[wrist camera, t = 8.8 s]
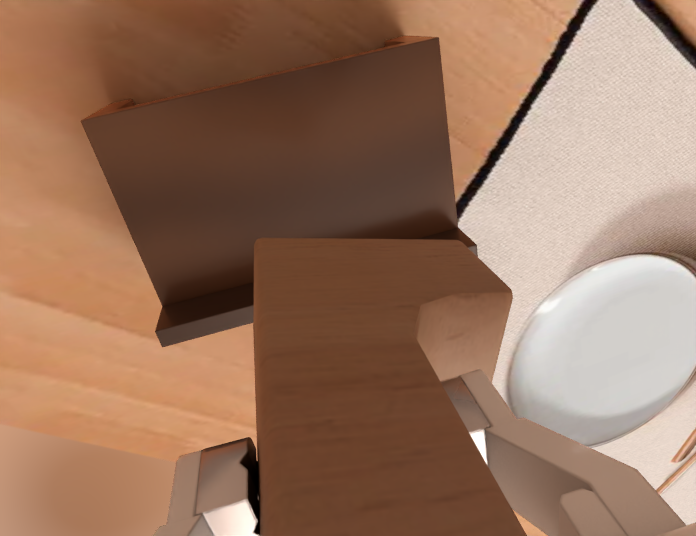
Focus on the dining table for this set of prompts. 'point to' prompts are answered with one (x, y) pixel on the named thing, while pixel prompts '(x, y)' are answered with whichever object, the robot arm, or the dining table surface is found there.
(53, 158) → the dining table surface
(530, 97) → the dining table surface
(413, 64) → the wooden box with backboard
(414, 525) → the wooden block
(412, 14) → the dining table surface
